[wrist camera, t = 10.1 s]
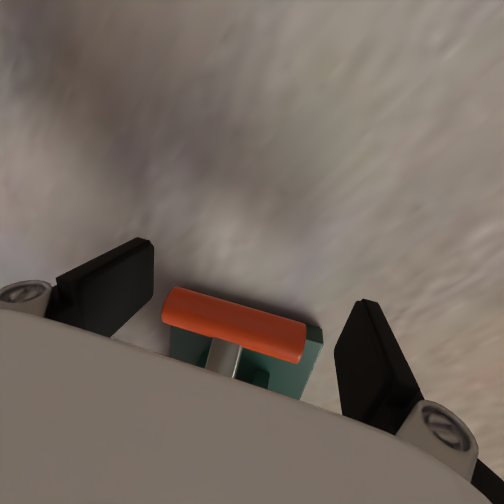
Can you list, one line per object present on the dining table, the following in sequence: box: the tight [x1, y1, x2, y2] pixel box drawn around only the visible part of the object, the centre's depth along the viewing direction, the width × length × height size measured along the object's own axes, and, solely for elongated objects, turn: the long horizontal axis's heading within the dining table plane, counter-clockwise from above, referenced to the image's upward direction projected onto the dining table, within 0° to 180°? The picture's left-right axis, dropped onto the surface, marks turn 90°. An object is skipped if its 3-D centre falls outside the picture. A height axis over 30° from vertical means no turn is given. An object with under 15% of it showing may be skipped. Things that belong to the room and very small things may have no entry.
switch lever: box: [161, 287, 306, 379], centre depth 9 cm, size 13×5×2 cm, turn 168°
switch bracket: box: [169, 324, 323, 400], centre depth 13 cm, size 12×10×13 cm
